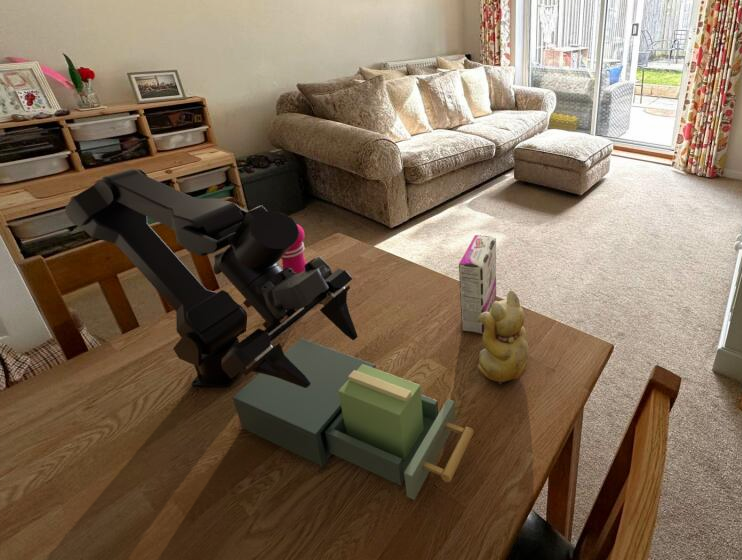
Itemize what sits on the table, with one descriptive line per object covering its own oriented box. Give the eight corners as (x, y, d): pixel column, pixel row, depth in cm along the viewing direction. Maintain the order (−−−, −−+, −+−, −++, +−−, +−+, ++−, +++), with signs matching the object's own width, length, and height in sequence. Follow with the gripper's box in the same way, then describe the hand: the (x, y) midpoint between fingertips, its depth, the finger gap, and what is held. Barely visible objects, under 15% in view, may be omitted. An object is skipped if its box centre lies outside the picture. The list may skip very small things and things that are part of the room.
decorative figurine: (503, 342, 79) (505, 278, 73) (539, 362, 75) (543, 296, 69) (471, 375, 72) (470, 307, 66) (508, 399, 67) (511, 329, 62)
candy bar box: (475, 296, 92) (474, 233, 86) (496, 299, 91) (497, 236, 85) (459, 331, 81) (457, 262, 75) (483, 335, 81) (483, 266, 74)
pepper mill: (309, 309, 86) (293, 227, 79) (276, 308, 86) (256, 226, 79) (324, 288, 93) (310, 211, 85) (293, 287, 93) (276, 210, 86)
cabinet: (379, 394, 68) (375, 364, 65) (322, 466, 57) (315, 434, 54) (307, 366, 73) (301, 337, 70) (242, 428, 62) (232, 397, 59)
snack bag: (404, 461, 56) (398, 410, 52) (346, 435, 59) (337, 386, 55) (424, 429, 60) (420, 380, 56) (368, 406, 63) (361, 359, 60)
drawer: (480, 432, 61) (480, 410, 59) (442, 513, 51) (441, 489, 49) (377, 393, 67) (374, 371, 65) (325, 459, 57) (320, 435, 55)
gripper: (214, 295, 45) (306, 398, 46) (335, 222, 62) (402, 298, 62) (185, 331, 51) (268, 423, 51) (303, 255, 67) (365, 325, 68)
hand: (333, 360), depth 58 cm, fingers open, 9 cm apart
